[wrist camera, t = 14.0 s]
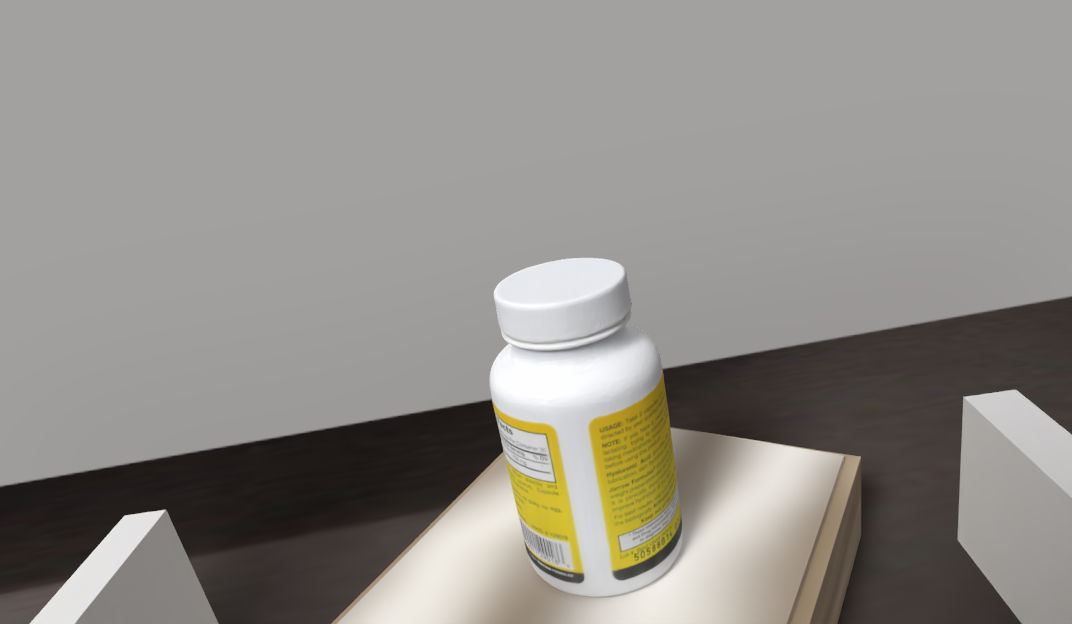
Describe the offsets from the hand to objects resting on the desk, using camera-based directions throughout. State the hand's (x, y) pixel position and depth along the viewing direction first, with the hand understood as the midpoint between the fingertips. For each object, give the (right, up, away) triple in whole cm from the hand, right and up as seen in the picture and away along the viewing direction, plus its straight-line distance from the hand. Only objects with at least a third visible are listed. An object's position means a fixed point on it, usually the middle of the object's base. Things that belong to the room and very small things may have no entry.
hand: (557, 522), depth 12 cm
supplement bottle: (+2, -5, +13) cm, 14 cm away
